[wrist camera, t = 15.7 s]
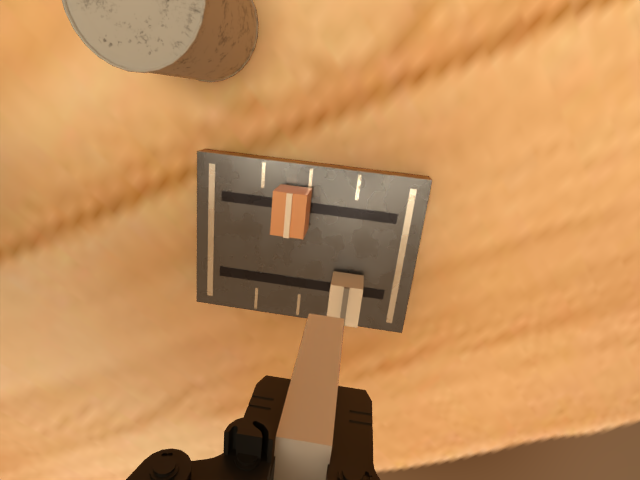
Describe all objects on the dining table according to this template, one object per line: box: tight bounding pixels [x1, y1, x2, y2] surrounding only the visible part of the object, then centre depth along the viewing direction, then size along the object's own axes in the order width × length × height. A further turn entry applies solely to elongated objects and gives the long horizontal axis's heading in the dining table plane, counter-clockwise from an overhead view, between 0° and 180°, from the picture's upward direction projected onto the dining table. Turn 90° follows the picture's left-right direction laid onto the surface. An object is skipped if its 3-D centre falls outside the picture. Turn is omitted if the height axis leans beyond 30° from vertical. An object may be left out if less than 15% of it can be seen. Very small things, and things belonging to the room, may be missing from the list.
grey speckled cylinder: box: [62, 0, 258, 82], centre depth 31 cm, size 10×10×12 cm
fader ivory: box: [327, 271, 364, 328], centre depth 39 cm, size 3×4×4 cm
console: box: [197, 149, 432, 333], centre depth 41 cm, size 22×16×2 cm
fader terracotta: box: [270, 184, 312, 239], centre depth 36 cm, size 3×4×4 cm
